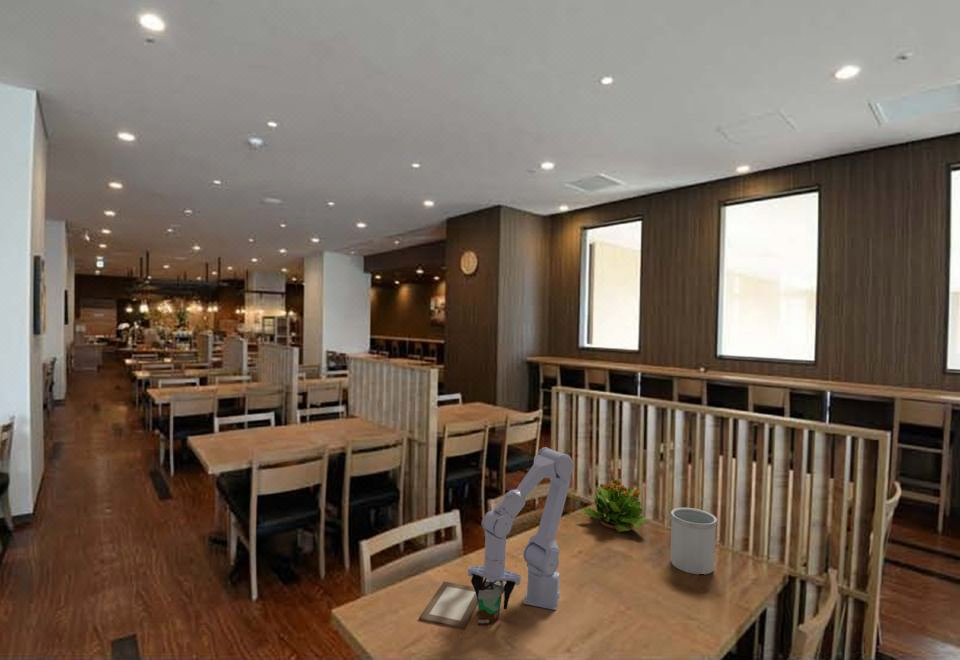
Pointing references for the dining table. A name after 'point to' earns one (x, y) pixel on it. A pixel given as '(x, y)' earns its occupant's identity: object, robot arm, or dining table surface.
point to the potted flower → (617, 507)
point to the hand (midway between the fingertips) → (492, 604)
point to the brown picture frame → (451, 605)
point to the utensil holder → (693, 540)
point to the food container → (489, 602)
